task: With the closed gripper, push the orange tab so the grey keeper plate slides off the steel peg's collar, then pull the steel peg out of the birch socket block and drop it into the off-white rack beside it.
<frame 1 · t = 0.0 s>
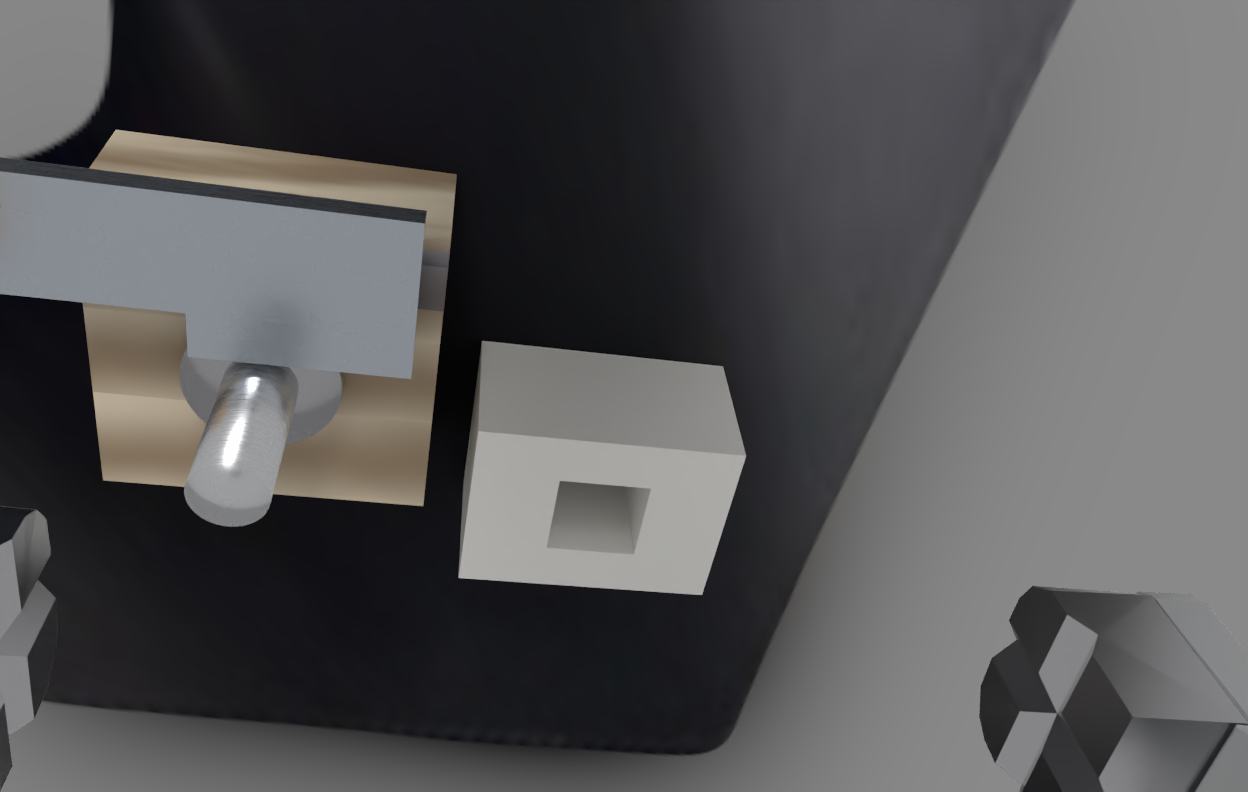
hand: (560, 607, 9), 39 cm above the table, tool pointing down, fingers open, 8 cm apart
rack: (589, 425, 58), on the table
keeper plate: (159, 299, 40), point 10 cm above the table, slide at 0.0 cm
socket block: (289, 292, 52), on the table
peg: (289, 292, 52), resting in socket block
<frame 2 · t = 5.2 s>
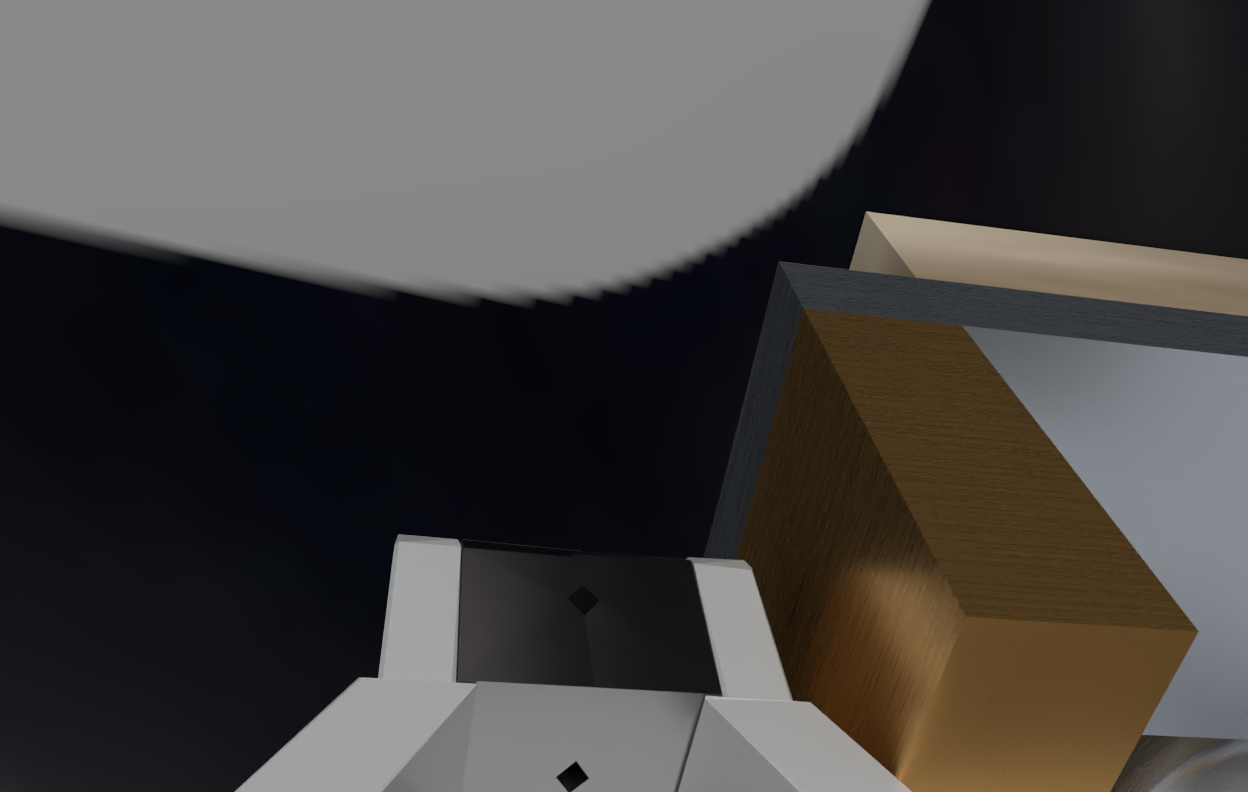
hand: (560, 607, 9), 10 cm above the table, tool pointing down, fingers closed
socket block: (1093, 566, 23), on the table
peg: (1093, 566, 23), resting in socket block
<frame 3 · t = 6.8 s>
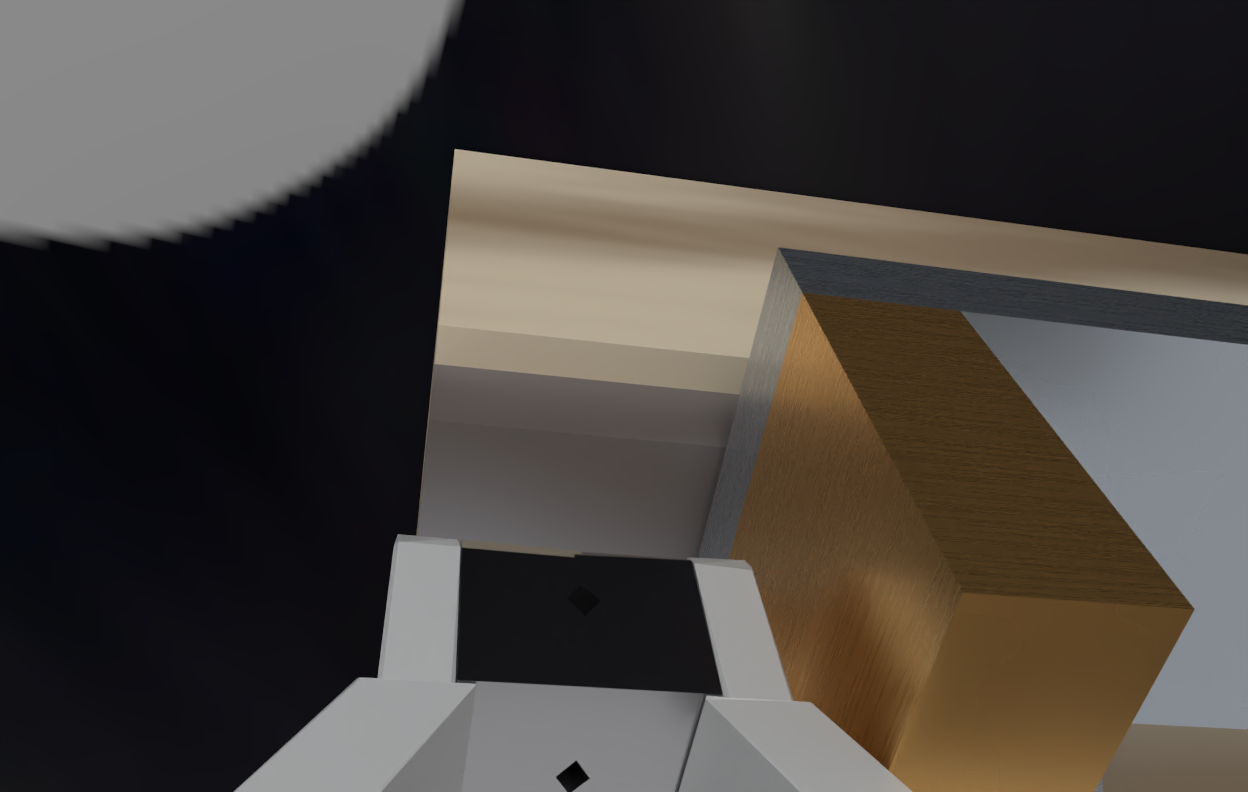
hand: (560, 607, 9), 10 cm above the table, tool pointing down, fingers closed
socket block: (776, 536, 22), on the table
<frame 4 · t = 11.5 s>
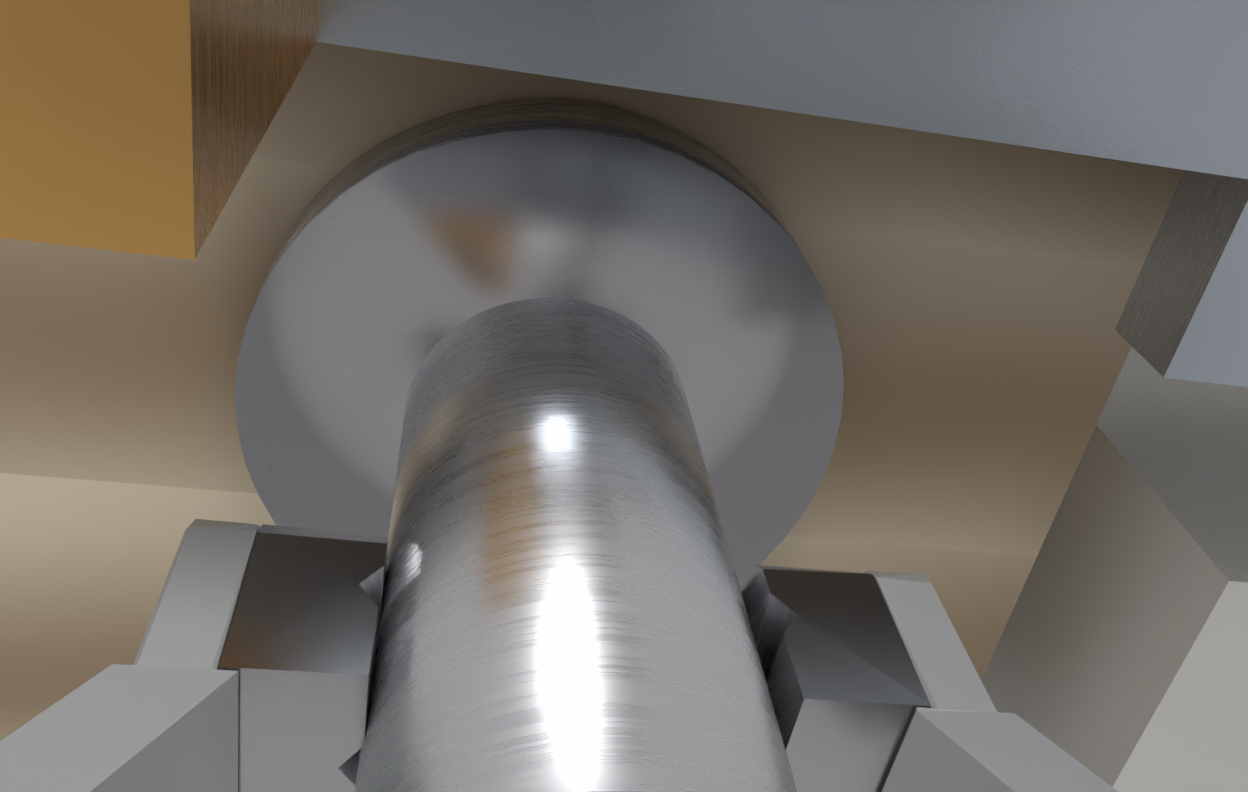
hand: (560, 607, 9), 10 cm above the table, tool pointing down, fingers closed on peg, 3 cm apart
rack: (1204, 548, 24), on the table
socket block: (530, 184, 18), on the table
peg: (530, 185, 18), resting in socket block, touching gripper
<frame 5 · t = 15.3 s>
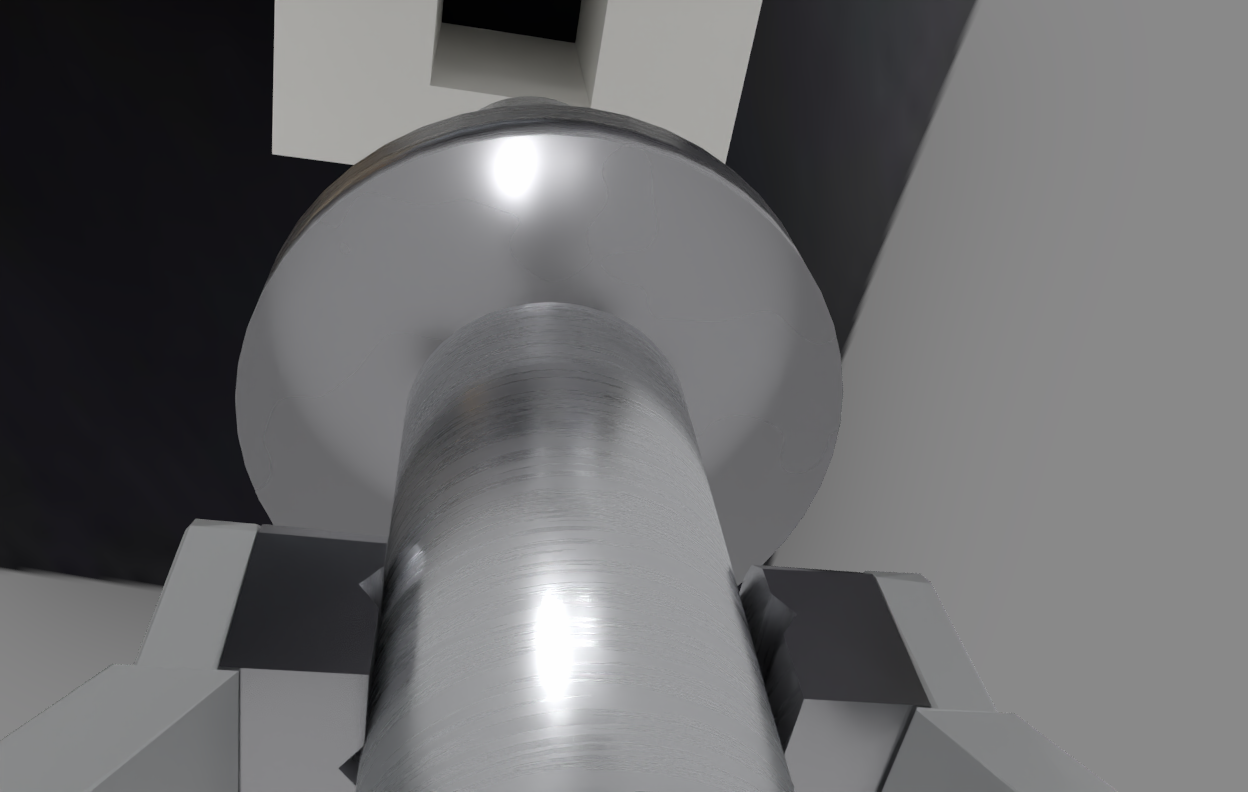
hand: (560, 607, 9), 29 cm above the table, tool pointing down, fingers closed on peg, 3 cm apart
peg: (530, 188, 18), point 19 cm above the table, touching gripper
when the fingers open (13 cm above the table, at t = 19.5 s): peg drops 2 cm, resting on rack.
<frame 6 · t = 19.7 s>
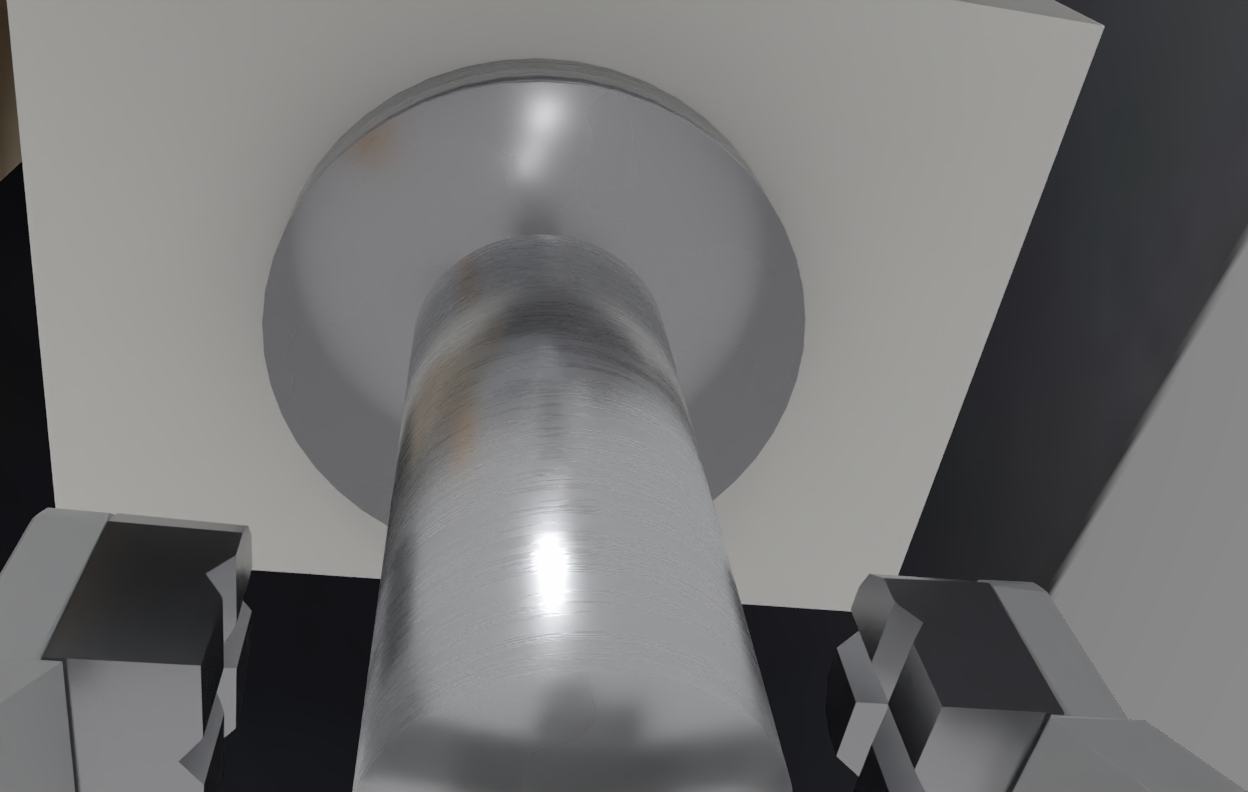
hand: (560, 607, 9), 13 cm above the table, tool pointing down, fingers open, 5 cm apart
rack: (526, 137, 20), on the table
peg: (526, 152, 20), point 1 cm above the table, touching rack
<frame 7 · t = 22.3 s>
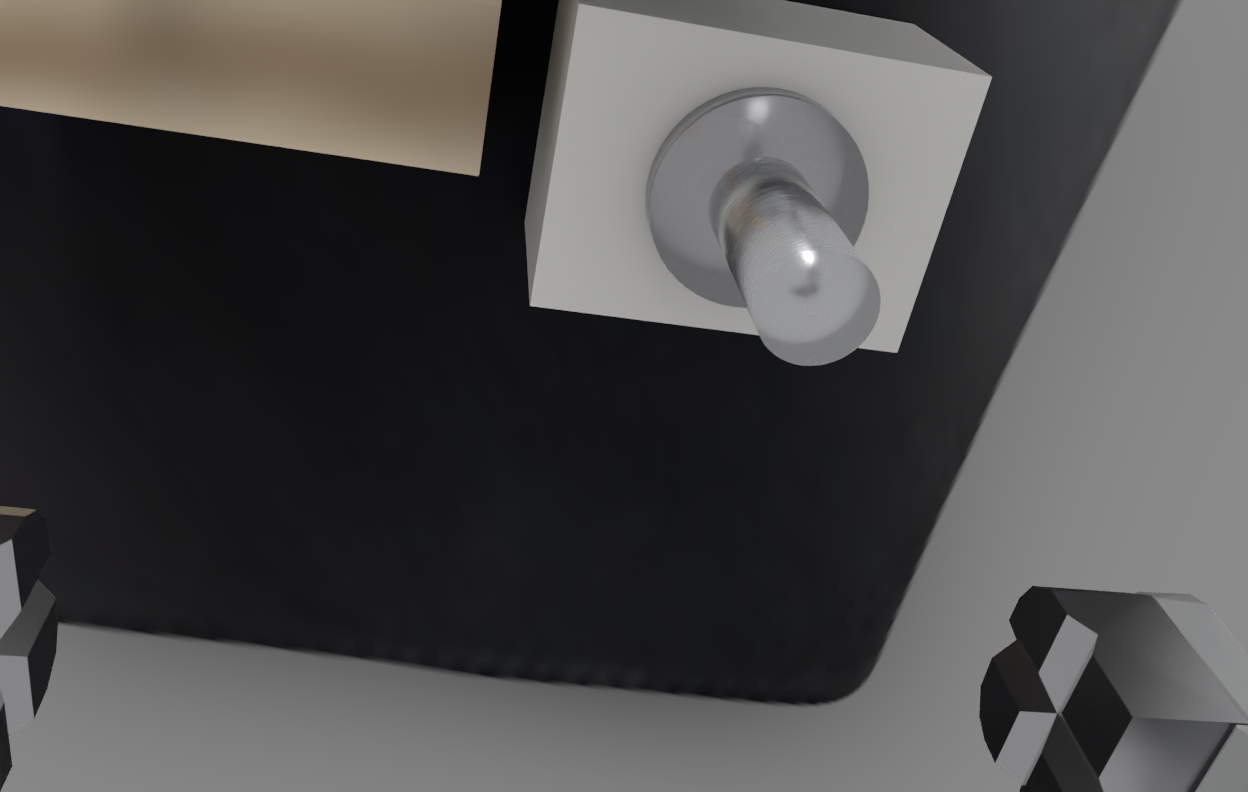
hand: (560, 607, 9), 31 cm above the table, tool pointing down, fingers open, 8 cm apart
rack: (713, 125, 39), on the table
peg: (717, 132, 39), point 1 cm above the table, touching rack
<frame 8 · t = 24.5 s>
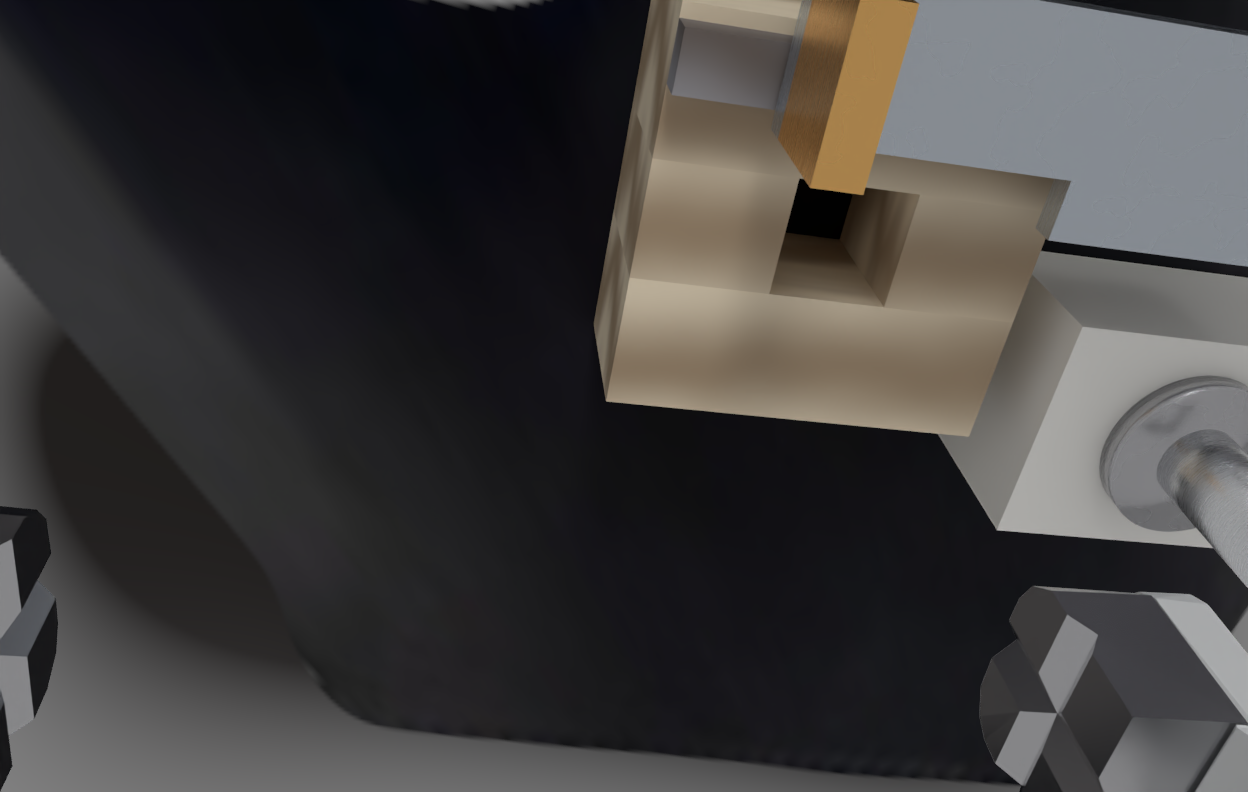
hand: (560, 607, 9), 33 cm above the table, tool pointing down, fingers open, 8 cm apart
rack: (1098, 358, 49), on the table
keeper plate: (1096, 148, 33), point 10 cm above the table, slide at 8.1 cm
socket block: (802, 182, 43), on the table
peg: (1106, 367, 48), point 1 cm above the table, touching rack
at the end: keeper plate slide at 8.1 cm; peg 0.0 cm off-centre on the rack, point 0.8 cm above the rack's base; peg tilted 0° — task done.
